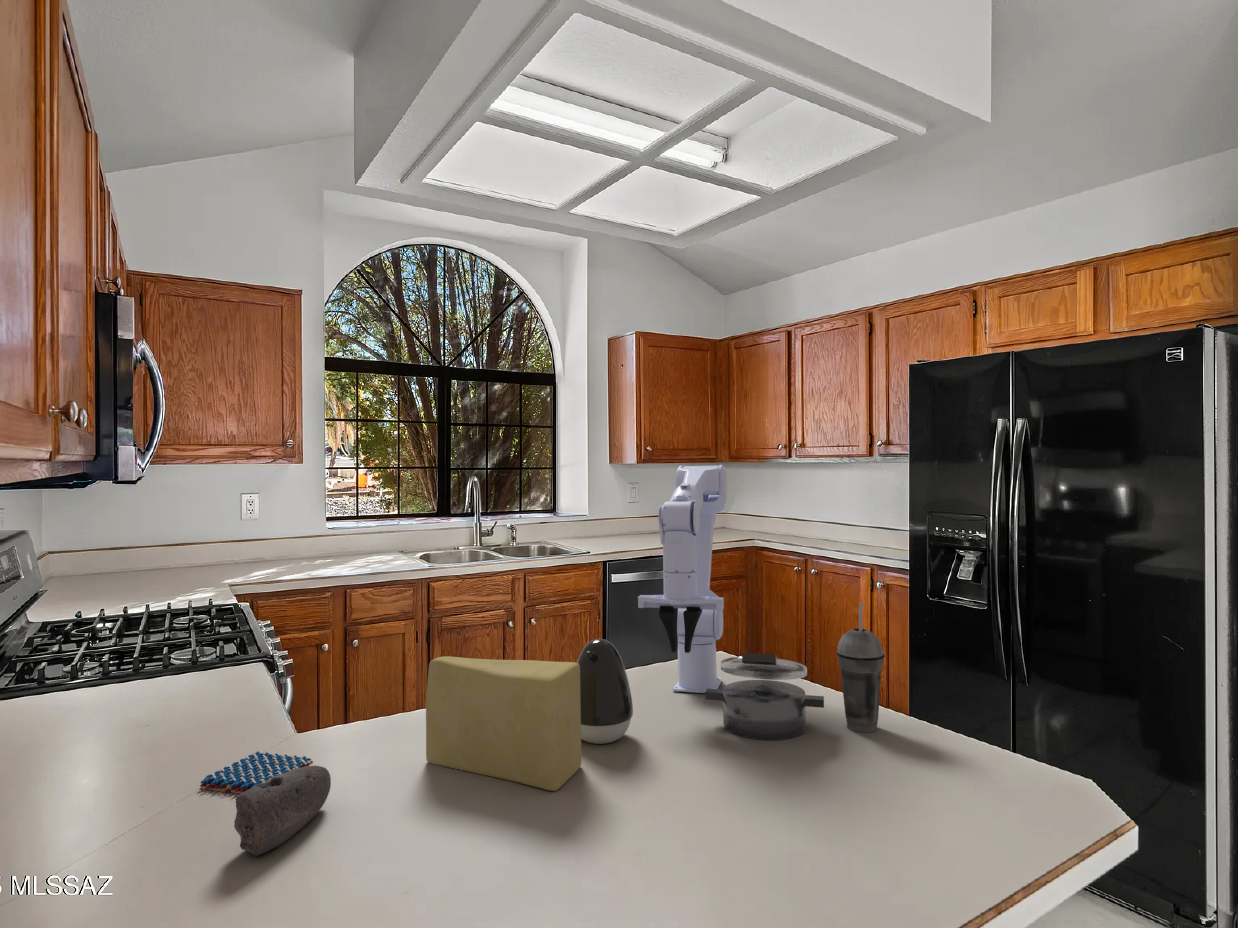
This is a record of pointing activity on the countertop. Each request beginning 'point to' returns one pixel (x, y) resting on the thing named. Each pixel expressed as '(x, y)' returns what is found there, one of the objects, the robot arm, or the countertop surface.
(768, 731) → the cooker pot
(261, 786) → the perforated stone tool
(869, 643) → the beverage cup
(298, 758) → the woven mat
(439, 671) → the cheese
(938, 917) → the countertop surface
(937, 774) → the countertop surface
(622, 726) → the black white egg shape
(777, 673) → the cooker lid
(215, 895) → the countertop surface
